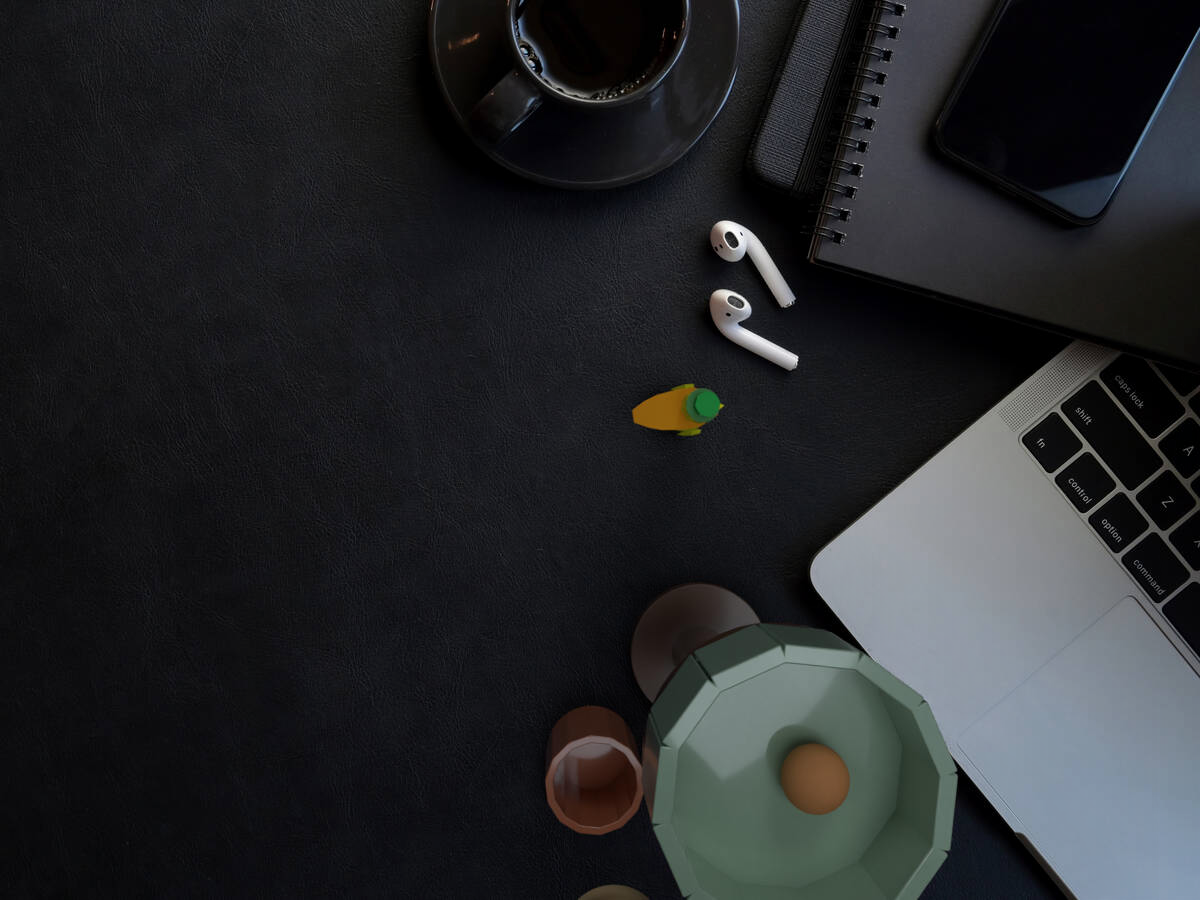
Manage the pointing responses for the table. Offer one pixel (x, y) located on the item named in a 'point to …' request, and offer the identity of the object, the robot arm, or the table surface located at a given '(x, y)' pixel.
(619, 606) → the table surface
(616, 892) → the beige plunger
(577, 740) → the holder
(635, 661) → the brown pedestal stand
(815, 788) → the ball
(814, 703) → the green bowl
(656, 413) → the toy figure
